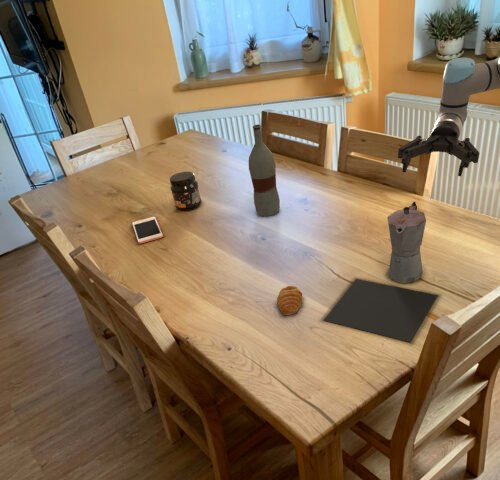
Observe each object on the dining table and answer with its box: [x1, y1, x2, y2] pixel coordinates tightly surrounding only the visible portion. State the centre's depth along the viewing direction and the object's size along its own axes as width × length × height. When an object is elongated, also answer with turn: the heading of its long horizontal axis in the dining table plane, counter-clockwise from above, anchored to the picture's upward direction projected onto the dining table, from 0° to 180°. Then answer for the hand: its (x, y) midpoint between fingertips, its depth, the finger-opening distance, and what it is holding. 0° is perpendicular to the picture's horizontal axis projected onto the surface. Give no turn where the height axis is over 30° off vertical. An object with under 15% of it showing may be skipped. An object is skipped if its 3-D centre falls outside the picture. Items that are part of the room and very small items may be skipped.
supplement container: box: [169, 171, 202, 212], centre depth 189 cm, size 10×10×12 cm
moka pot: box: [386, 201, 427, 284], centre depth 129 cm, size 10×15×20 cm, turn 155°
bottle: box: [248, 124, 281, 218], centre depth 169 cm, size 9×9×30 cm
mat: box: [323, 278, 439, 344], centre depth 124 cm, size 22×20×1 cm
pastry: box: [276, 285, 303, 316], centre depth 130 cm, size 9×7×4 cm
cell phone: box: [132, 216, 164, 245], centre depth 180 cm, size 9×18×1 cm, turn 18°
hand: (431, 169), depth 126 cm, fingers open, 13 cm apart
